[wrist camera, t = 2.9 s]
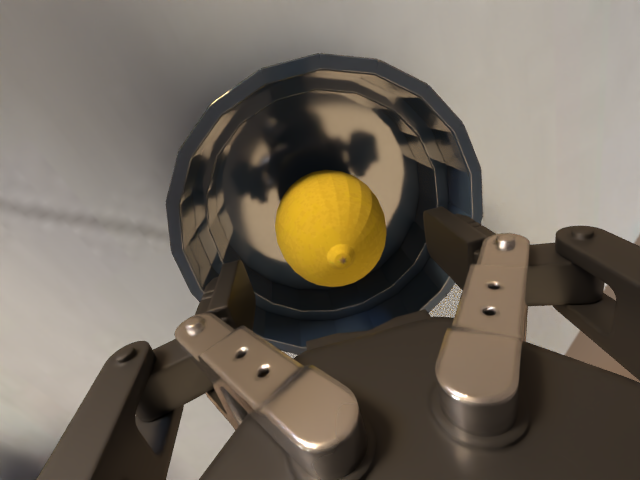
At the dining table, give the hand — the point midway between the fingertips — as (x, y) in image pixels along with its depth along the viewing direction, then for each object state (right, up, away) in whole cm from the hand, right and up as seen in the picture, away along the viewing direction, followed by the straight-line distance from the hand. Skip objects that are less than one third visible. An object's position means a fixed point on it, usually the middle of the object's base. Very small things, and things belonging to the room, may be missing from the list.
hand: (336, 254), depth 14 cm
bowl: (-1, +3, +7) cm, 8 cm away
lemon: (-1, +3, +7) cm, 7 cm away
